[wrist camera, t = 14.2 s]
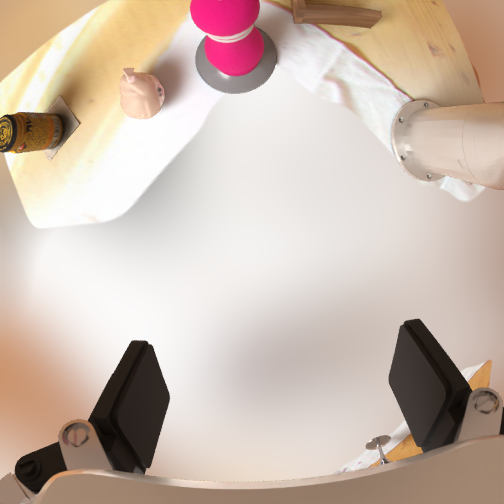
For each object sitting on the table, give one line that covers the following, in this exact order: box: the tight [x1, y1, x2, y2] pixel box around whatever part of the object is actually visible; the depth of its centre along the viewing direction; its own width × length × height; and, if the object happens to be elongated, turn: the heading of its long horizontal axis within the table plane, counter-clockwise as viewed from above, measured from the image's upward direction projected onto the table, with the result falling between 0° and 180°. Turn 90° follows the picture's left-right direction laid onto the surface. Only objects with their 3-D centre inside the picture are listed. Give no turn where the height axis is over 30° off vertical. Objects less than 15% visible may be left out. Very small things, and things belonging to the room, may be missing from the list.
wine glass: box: [366, 435, 393, 465], centre depth 55 cm, size 8×8×15 cm
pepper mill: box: [190, 0, 264, 76], centre depth 25 cm, size 7×7×20 cm
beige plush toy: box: [120, 68, 165, 119], centre depth 33 cm, size 7×6×8 cm
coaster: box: [196, 27, 277, 94], centre depth 34 cm, size 11×11×1 cm
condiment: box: [0, 96, 79, 161], centre depth 32 cm, size 7×8×12 cm
